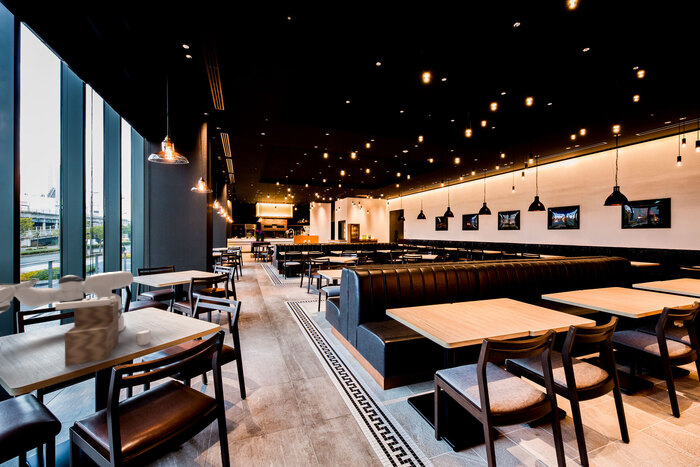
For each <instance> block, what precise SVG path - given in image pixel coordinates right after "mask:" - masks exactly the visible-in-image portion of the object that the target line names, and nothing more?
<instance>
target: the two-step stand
mask: <svg viewBox="0 0 700 467" xmlns="http://www.w3.org/2000/svg"><path fill="white" fill-rule="evenodd" d="M73 309H74V313H73V314H74V317H73V318H74V321H73V322H74V323H73V324H74V325H73V327H71V328H70V329H69V330H67V331H66V332H65V333H64V366H65V367H66V366H71V365H79V364H85V363H91V362H96V361H103V360H107V359H108V358H109V357H110V355H112V353H113V351H114V350H115V348H116V347H117V346H118V344H119V339H120V338H119V332H118V301H116V302H114V303H111V304H110V305H104V306H93V307H82V308H73Z"/></svg>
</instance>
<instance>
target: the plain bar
mask: <svg viewBox="0 0 700 467" xmlns="http://www.w3.org/2000/svg"><path fill="white" fill-rule="evenodd" d="M110 304H111V299H99V300H87V301H75V302H63V303H60V302H56V304H55V311H57V310H58V311H60V310H71V309H75V308H82V307H93V306H104V305H110Z"/></svg>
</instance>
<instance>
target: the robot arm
mask: <svg viewBox="0 0 700 467" xmlns="http://www.w3.org/2000/svg"><path fill="white" fill-rule="evenodd" d="M38 282H40V279H39V278H34V279H32V280H26V281H24V282H21V283H5V282H0V314H2V313H5V312H7V311H8V310H9V309H10V308H11V306H12V305H11V302H12V301H13V299H14V297H15V298H17V300H18V301H19V302H20V303H22V305H24V306H26V307H29V308H30V307H31V308H35V307H36V308H37V307H44V306H46V305H50V304H54V303H63V302H75V301H82V300H83V299H85V297H84V294H86V295H95V296H96V298H100V297H101V298H102V297H114V296H116V301H118V333H120V332H122V331H124V330H125V328H126V327H127V324H125V319H124V318H125V317H124V315H123V308H122V298H121V296H120V295H119V294H116V293H112V290H116V289H120V288H124V287H128V286H130V285H132V283H134V275H133V273H132V272H131V271H127V270H126V271H123V270H119V271H110V272H101V273H95V274H91V275H88V276H87V277H85V279H84V278H83V277H81V276H78V275H77V274H75V275H73V274H68V275H65V276H62V277H60V278H59V279H58V288H59V289H57V288H55V287H40V288H38V287H34V286H35V284H36V283H38Z"/></svg>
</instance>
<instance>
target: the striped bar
mask: <svg viewBox="0 0 700 467" xmlns="http://www.w3.org/2000/svg"><path fill="white" fill-rule="evenodd" d="M99 299H111V303H114V302H116V296H114V297H102V298H101V297H100V298H97V297H93V298H91V297H90V298H84V299H83V300H82V301H87V300H99Z"/></svg>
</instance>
